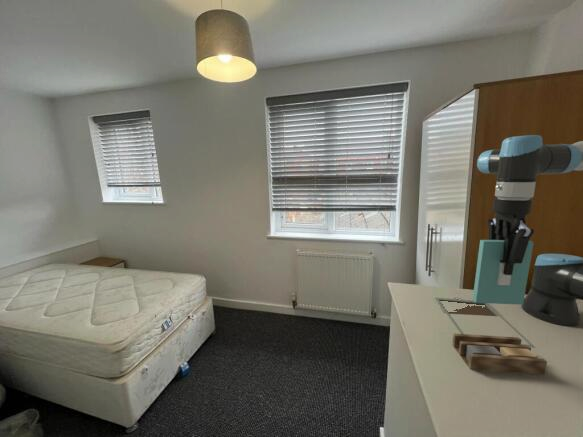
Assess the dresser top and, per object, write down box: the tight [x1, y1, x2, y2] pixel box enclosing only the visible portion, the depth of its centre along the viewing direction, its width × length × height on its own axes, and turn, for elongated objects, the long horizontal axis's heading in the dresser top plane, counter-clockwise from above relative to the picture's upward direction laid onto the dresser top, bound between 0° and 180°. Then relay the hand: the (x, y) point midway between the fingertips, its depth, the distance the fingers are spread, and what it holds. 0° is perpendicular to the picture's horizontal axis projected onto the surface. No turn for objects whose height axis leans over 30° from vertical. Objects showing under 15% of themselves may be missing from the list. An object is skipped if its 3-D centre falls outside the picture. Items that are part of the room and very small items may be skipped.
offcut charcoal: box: [466, 345, 502, 361], centre depth 69 cm, size 7×3×4 cm, turn 83°
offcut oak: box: [500, 347, 538, 358], centre depth 67 cm, size 7×3×4 cm, turn 83°
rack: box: [451, 333, 548, 376], centre depth 70 cm, size 18×9×5 cm, turn 83°
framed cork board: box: [434, 297, 536, 349], centre depth 90 cm, size 19×2×30 cm
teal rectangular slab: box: [472, 239, 534, 306], centre depth 68 cm, size 12×2×18 cm, turn 83°
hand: (500, 282), depth 68 cm, fingers closed on teal rectangular slab, 2 cm apart
